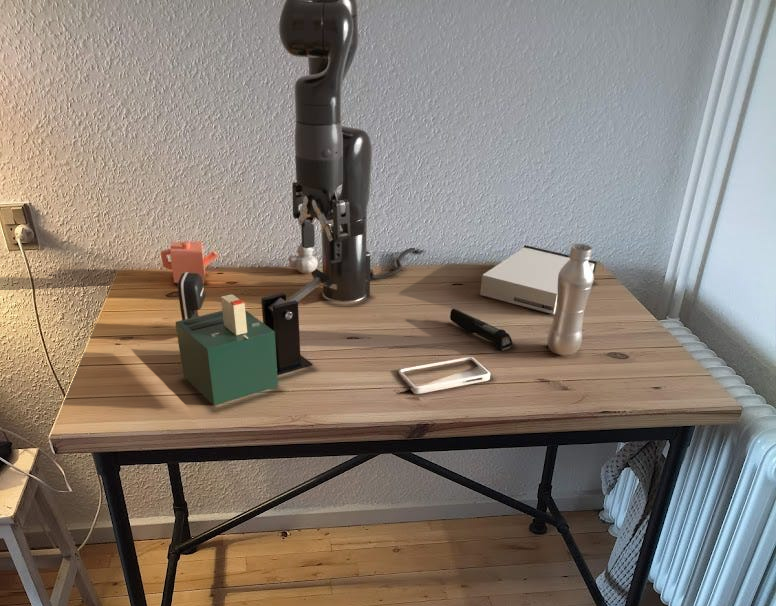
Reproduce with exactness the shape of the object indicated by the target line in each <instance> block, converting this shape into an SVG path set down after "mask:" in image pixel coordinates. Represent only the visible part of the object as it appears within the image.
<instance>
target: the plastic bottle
mask: <svg viewBox="0 0 776 606" xmlns="http://www.w3.org/2000/svg"><path fill="white" fill-rule="evenodd" d="M592 249H593V248H592V246H590V245H589V244H585V243H573V244H572V245H571V247H570V251H569V254H568V255H569V258H570V260H569V261H568V262H567V263H566V264H565V265H564V266H563V267H562V269H561V270H560V272H559V274H558V293H557V304H556V311H555V314H553V319H552V322H551V326H550V328H549V331H548V333H547V336H546V337H547V343H546V344H547V347H548V349H549V350H550V351H551V352H552V353H554V354H556V355H560V356H571V355H574V354H576V353H577V351H578V350H579V349H580V348H581V345H582V341H583V323H584V314H585V311H586V306H587V302H588V298H589V295H590V293H591V289H592V287H593V284H594V279H595V273H594V274H593V271H592V268H591V266H590V264H589V262H588V260H591V258H592Z"/></svg>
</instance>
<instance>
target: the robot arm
mask: <svg viewBox="0 0 776 606" xmlns="http://www.w3.org/2000/svg"><path fill="white" fill-rule="evenodd" d="M357 2H358V1H357V0H285V2H284V4H283V7H282V9H281V13H280V16H279V21H278V32H279V33H278V35H279V39H280V42H281V45H282V47H283V49H284V50H285V51H286V52H287V53H288V54H289V55H291V56H293V57H296V58H307V65H308V66H307V67H308V75H303V76H301V77H299V78H297V79H296V80H295V83H294V115H295V128H294V156H295V158H294V159H295V180H296V181H294V182H292V185H291V187H292V188H291V189H292V191H291V192H292V217H293V219H294V220H295V219H297V222H298V224H299V226H300V230H301V231H300V234H301V235H300V236H301V243H302V247H304V248H314V247H315V245H316V241H315V240H316V239H315V237H316V236H315V235H316V234H315V224H314V223H315V220H317V221H318V222H319V224H320V227H321V228H320V229H321V231H320V232H321V233H320V234H321V267H322V269H321V272H322V273H324V274H326V275H328V276H329V277H331V278H332V280H333V282H334V284H332V285H331V286H330V287H327V286H326V285H324V284H322V293H321V294H322V299H323V300H324V301H332V302H338V303H354V302H357V301H360V300H363V299H364V298H367V299H368V298H370V297H371V279H373V280H379V279H384V278H390V277H391V276H394V275H397V274H398V273H400V272H401V270H402V269H403V266H402V264H401V260H402V259H403V258H404V257H405V256H406V255H408V254H409V253H412V252H415V253H416V254H419V253H420V252H421V251H420V250H419V248H417V250H415V248H416V247H415V248H412V247H409V248H407V249H405V250H404V251H403V252H401V253H400V254H399V255H398V256H397V257H396V260H395V264H396V265H397V267H396V268H395V269H394V270H392V271H389V272H387V273H383V274H375V272H374V270H373V269H372V268H371V252H370V251H368V250H367V244H368V243H367V241H368V239H367V235H368V234H367V233H368V231H367V228H368V226H367V224H368V223H367V222H368V221H367V220H368V219H367V218H368V206H369V202H370V196H371V195H370V194H371V181H372V180H371V177H372V164H373V148H372V146H373V145H372V142H371V139H370V138H371V137H370V136H369V134H368V132H366V131H365V130H364V129H360V128H355V127H349V126H345V125H344V126H343V125H342V85H343V83H344V81H345V78H346V77H347V75H348V73H349V71H350V68H351V67H352V65H353V62H354V60H355V57H356V54H357V51H358V47H359V22H358V19H359V18H358V3H357ZM340 186H341V190H340V192H337V189H338V188H339V187H340ZM300 205H301V206H300ZM299 207H300V209H299ZM414 250H415V251H414Z"/></svg>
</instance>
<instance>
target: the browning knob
mask: <svg viewBox="0 0 776 606" xmlns="http://www.w3.org/2000/svg"><path fill="white" fill-rule="evenodd" d="M220 300H221V308H222V309H221V311H223V319H224V326H225V327H226V328H228V329H229V330H230V331H231V332H233V333H234V334H235V335H240V334H244V333H247V325H246V314H245V310H246V304H245V302H244V301H243V300H242V299H239V298H238V297H236V295H234V294H227V295H222V296H220Z"/></svg>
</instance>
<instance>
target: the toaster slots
mask: <svg viewBox="0 0 776 606" xmlns="http://www.w3.org/2000/svg"><path fill="white" fill-rule="evenodd" d="M221 316H223V312H221V313H217V314H213V315H209V316H204V317H200V318H196V319H192V320H188V321H184V322H183V323H185V324H186V325H188V324H192V323H196V322H200V321H204V320H208V319H212V318H217V317H221ZM223 322H224V320H223V319H219V320H215V321H211V322H207V323H203V324H199V325H195V326H191V327H189V328H190V329H192V330H195V329H199V328H203V327H207V326H211V325H215V324H219V323H223Z"/></svg>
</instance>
